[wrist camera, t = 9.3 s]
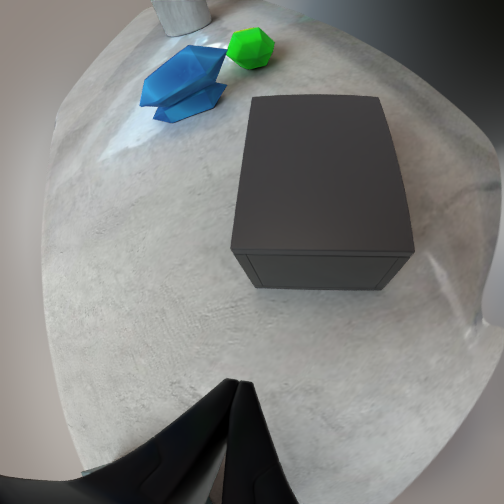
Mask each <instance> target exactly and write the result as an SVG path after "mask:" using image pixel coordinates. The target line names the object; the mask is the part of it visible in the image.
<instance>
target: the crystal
mask: <svg viewBox="0 0 504 504" xmlns="http://www.w3.org/2000/svg"><path fill="white" fill-rule="evenodd" d="M227 51H228V50H227V49H220V48H212V47H203V46H193V45H188V46H187V47H185V48H184V49H182V50H181V51H180V52H178V53H177V54H176V55H174V56H173V57H172V58H170V59H169V60H168V61H167V62H165V63H164V64H163V65H162V66H160V67H159V68H158V69H157V70H155V71H154V72H153V73H152V74H151V75H150V76H148V77H147V78H146V79H145V80H144V85H143V90H142V95H141V100H140V106H141V107H144V106H152V107H158V109H157V111H156V113H155V115H154V117H153V119H155V120H160V121H165V122H169V123H174V122H177V121H179V120H182V119H184V118H187V117H190V116H192V115H195V114H198V113H201V112H203V111H206V110H209V109H212V108H214V106H215V104H216V103H217V101H218V99H219V98H220V96H221V95H222V93H223V91H224V90H225V88H226V86H227V85H225V84H221V83H217V82H216V79H217V77H218V74H219V71H220V69H221V66H222V63H223V61H224V58H225V56H226V53H227Z"/></svg>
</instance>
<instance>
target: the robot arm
mask: <svg viewBox="0 0 504 504" xmlns="http://www.w3.org/2000/svg"><path fill="white" fill-rule="evenodd" d="M225 453H226V459H225V471H224V482H223V493H222V504H299V502H298V501H297V499H296V497H295V495H294V493H293V492H292V490H291V488H290V486H289V484H288V481H287V479H286V476H285V474H284V472H283V469H282V466H281V463H280V462H279V458H278V455H277V453H276V450H275V447H274V444H273V441H272V438H271V435H270V433H269V430H268V427H267V424H266V421H265V418H264V415H263V412H262V409H261V406H260V403H259V400H258V397H257V394H256V391H255V387H254V384H253V383H252V382H249V381H242V380H241V381H238V380H236V379H229V378H226V379H224V380H223V381H222V382H221V383H220V384H218V385H217V386H216V387H215V388H214V389H213V390H211V391H210V392H209V393H208V394H207V395H205V396H204V397H203V398H202V399H201V400H199V401H198V402H197V403H196V404H195V405H193V406H192V407H191V408H190V409H188V410H187V411H186V412H185V413H183V414H182V415H181V416H180V417H178V418H177V419H176V420H175V421H173V422H172V423H171V424H170V425H168V426H167V427H166V428H164V429H163V430H162V431H160V432H159V433H158V434H157V435H155V438H154V437H152V438H151V439H150V440H148V441H147V442H146V443H144V444H143V445H141V446H140V447H138V448H137V449H135V450H134V451H132V452H131V453H129V454H127V455H126V456H124V457H122V458H120V459H118V460H117V461H115V462H113V463H111V464H109V465H107V466H105V467H102V468H100V469H98V470H96V471H94V472H92V473H90V474H88V475H85V476H83V477H81V478H77V479H74V480H68V481H47V480H33V479H23V478H15V477H8V476H3V475H0V504H205V503H206V500H207V498H208V496H209V493H210V491H211V488H212V486H213V483H214V481H215V478H216V476H217V473H218V471H219V468H220V465H221V463H222V460H223V458H224V455H225Z"/></svg>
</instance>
